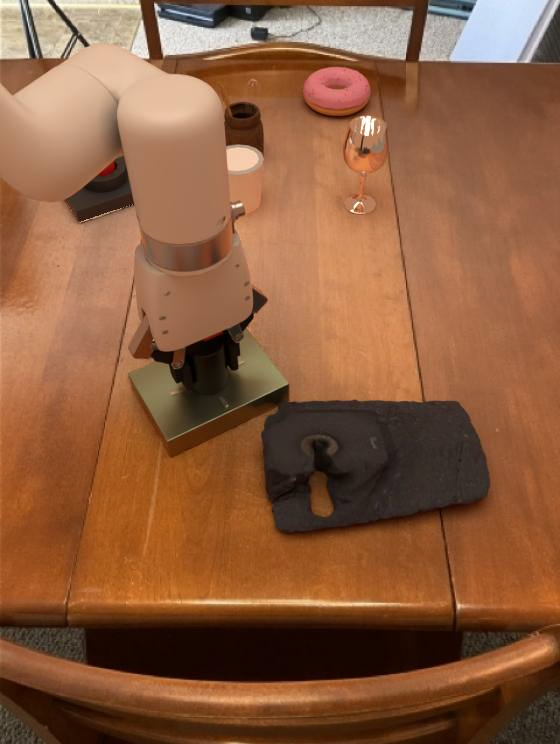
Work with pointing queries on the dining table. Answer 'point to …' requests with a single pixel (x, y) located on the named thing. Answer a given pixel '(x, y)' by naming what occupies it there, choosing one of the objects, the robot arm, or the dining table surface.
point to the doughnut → (336, 91)
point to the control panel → (209, 398)
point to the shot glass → (245, 175)
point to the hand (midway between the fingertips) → (206, 370)
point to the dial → (208, 364)
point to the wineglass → (364, 157)
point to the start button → (108, 170)
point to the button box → (103, 193)
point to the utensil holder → (243, 122)
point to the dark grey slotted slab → (370, 460)
